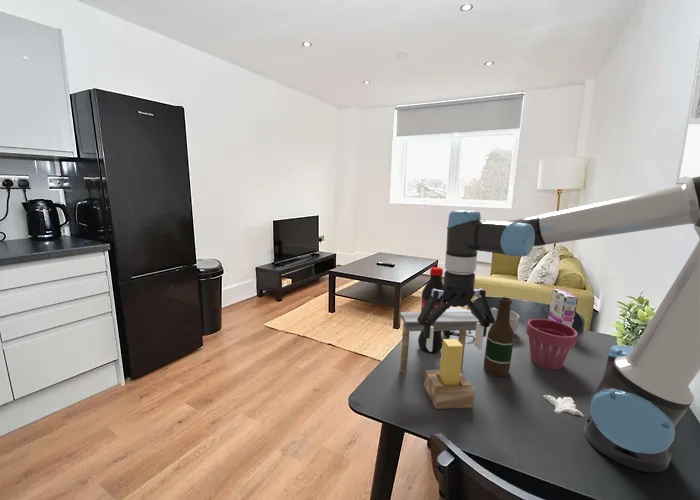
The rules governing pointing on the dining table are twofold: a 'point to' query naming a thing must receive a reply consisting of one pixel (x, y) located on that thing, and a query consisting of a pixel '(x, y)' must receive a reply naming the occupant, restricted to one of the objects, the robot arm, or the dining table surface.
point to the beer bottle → (500, 341)
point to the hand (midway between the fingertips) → (453, 348)
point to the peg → (450, 362)
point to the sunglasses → (453, 334)
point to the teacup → (513, 318)
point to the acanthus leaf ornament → (563, 405)
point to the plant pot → (550, 342)
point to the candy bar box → (563, 307)
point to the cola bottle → (438, 285)
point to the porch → (438, 393)
